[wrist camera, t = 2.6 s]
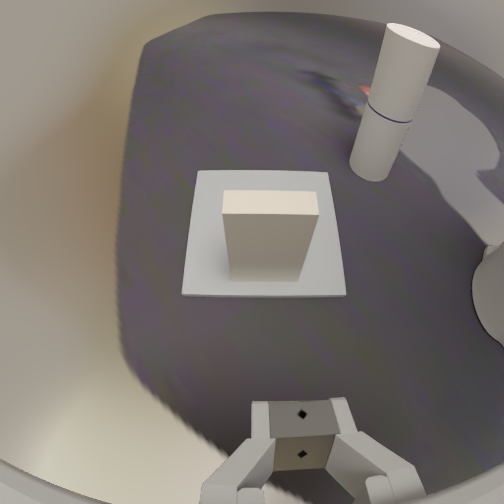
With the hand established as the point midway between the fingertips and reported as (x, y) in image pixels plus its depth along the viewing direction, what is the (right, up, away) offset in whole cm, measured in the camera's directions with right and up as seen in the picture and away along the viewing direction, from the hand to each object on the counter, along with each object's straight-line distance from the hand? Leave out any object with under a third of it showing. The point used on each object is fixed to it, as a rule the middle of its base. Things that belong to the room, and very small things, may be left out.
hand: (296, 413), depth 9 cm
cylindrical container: (+18, +20, +40) cm, 48 cm away
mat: (0, +8, +33) cm, 34 cm away
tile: (0, +3, +29) cm, 29 cm away
